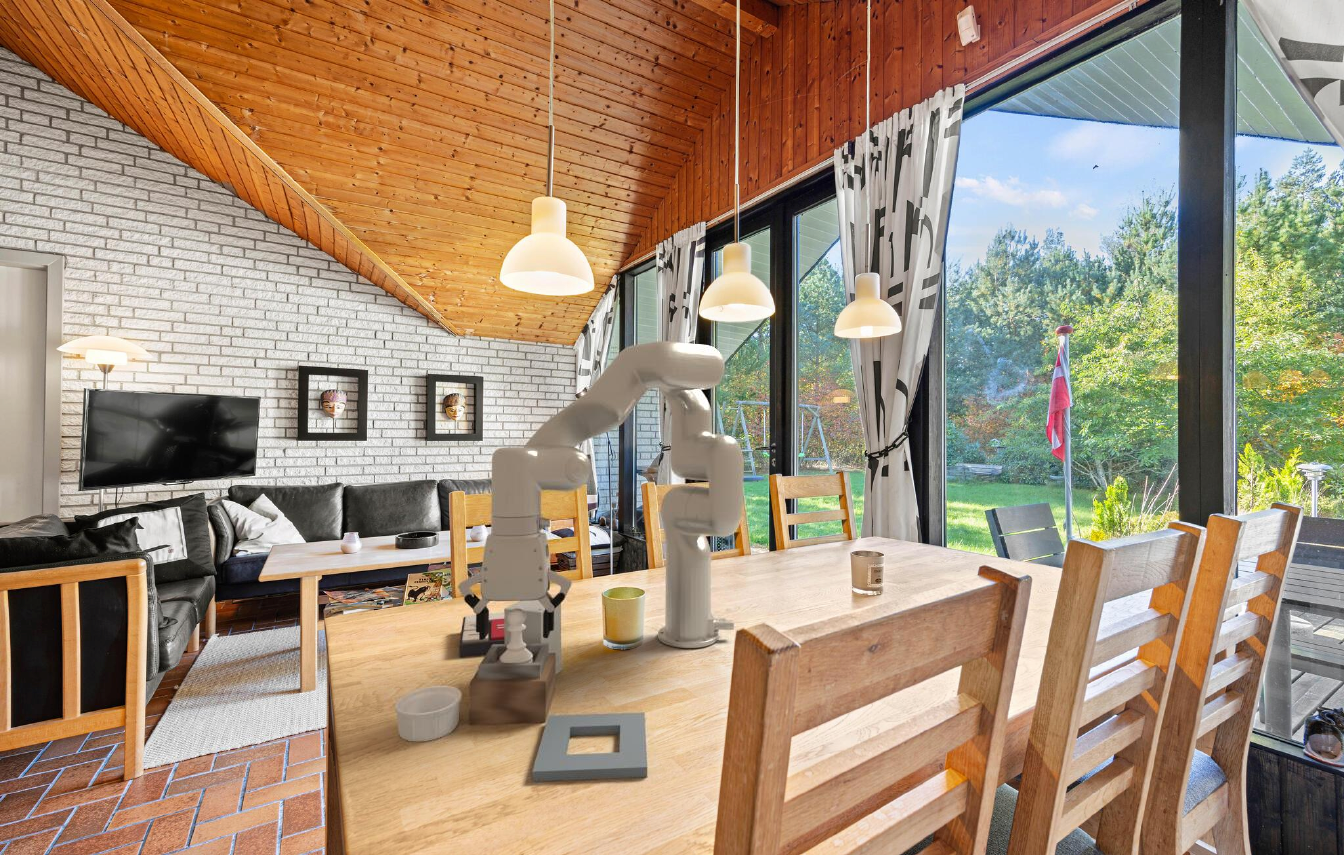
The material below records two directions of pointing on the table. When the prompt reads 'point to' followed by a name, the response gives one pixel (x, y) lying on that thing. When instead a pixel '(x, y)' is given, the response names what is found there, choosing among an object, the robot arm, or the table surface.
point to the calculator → (470, 637)
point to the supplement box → (538, 627)
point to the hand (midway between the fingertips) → (515, 635)
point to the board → (596, 765)
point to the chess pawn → (516, 639)
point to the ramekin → (428, 713)
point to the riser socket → (512, 687)
